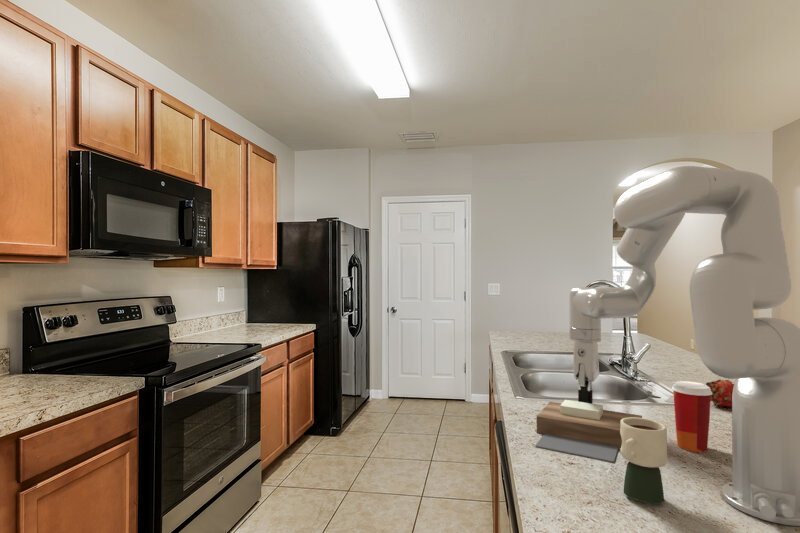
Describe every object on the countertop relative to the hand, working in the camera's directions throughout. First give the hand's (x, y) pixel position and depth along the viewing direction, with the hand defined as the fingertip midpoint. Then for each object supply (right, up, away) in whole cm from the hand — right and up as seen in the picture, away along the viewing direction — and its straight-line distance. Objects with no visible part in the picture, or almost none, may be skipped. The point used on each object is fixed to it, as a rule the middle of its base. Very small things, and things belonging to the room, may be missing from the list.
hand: (585, 405), depth 116 cm
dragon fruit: (+46, -5, +14) cm, 49 cm away
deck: (-2, -5, -7) cm, 8 cm away
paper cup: (+17, -5, -16) cm, 24 cm away
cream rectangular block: (-3, -1, -5) cm, 6 cm away
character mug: (-6, -5, -38) cm, 39 cm away
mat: (-9, -5, -16) cm, 19 cm away
